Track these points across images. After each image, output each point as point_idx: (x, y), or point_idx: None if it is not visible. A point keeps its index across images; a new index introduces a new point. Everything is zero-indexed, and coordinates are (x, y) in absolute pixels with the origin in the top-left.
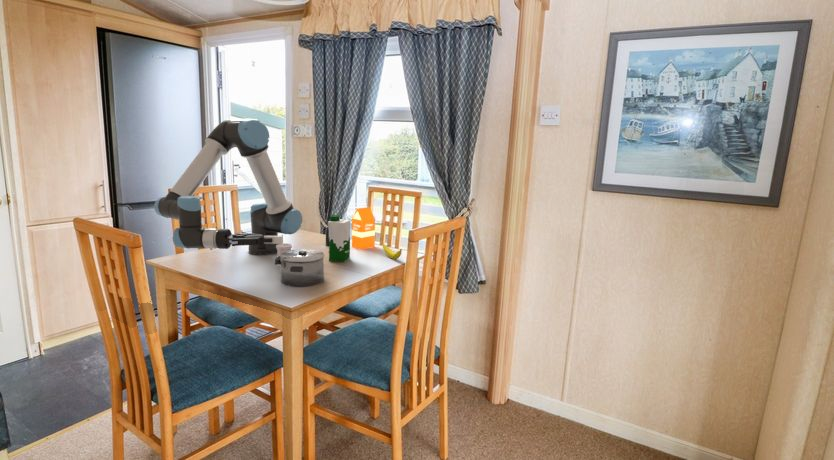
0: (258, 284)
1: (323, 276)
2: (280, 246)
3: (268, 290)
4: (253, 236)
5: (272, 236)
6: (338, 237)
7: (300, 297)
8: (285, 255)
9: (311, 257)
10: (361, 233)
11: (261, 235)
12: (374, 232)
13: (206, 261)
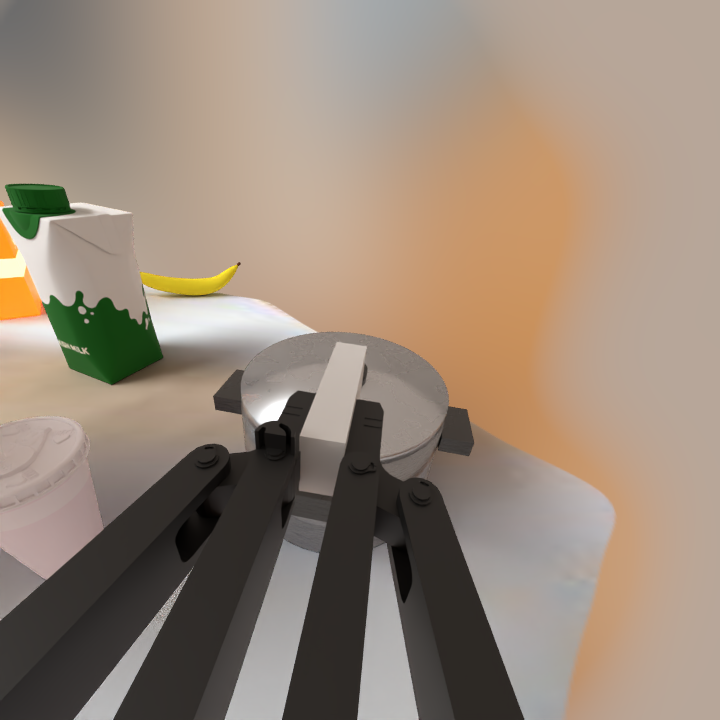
0: (388, 705)
1: None
2: (25, 474)
3: (486, 611)
4: (245, 591)
5: (352, 385)
6: (130, 280)
7: (527, 476)
8: None
9: (398, 359)
10: (16, 261)
11: (257, 473)
12: None
13: None
